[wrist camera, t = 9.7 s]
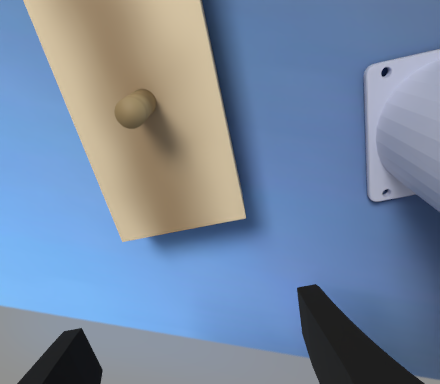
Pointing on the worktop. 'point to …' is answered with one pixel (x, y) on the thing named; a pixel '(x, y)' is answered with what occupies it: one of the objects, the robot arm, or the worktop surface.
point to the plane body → (145, 109)
